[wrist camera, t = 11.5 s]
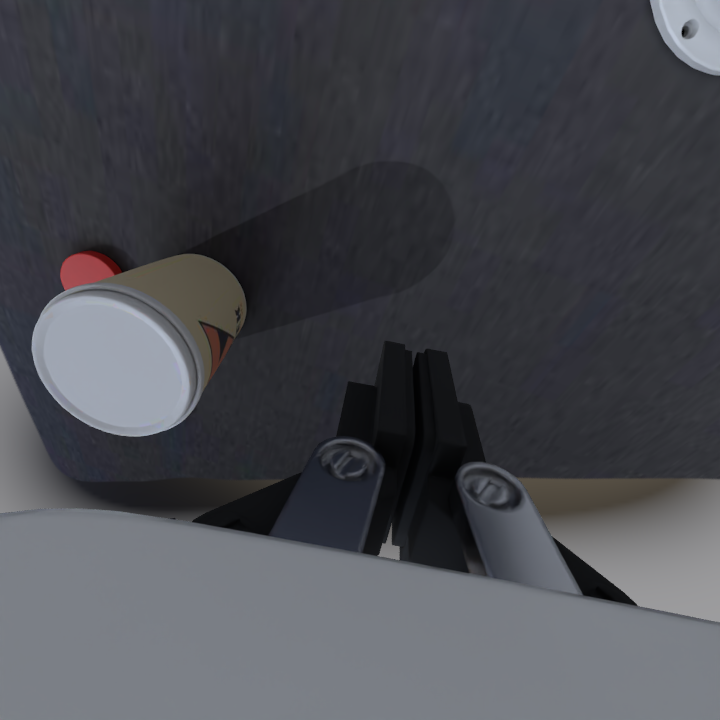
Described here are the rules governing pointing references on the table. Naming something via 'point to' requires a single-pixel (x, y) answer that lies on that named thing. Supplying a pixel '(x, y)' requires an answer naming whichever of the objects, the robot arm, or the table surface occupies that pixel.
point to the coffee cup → (139, 343)
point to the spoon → (87, 269)
